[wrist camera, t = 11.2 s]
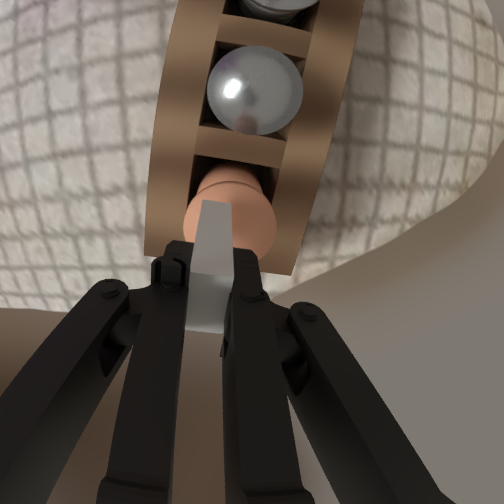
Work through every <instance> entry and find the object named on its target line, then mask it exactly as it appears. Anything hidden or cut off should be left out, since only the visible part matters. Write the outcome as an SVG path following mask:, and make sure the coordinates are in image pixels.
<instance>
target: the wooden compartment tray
mask: <svg viewBox="0 0 504 504" xmlns="http://www.w3.org/2000/svg"><path fill="white" fill-rule="evenodd" d="M363 3H364V0H318V1H317V2H316V3H315V4H313V5H312V6H310V7H308V8H306V9H305V12H304V16H303V20H302V24H301V29H296V28H292V27H288V26H284V25H280V24H276V23H271V22H266V21H262V20H256V19H251V18H245V17H239V16H233V15H227V11H228V8H229V4H230V0H179V1H178V5H177V9H176V13H175V17H174V21H173V25H172V29H171V34H170V38H169V43H168V47H167V52H166V57H165V62H164V67H163V72H162V78H161V84H160V89H159V96H158V102H157V108H156V115H155V122H154V130H153V138H152V146H151V155H150V165H149V176H148V188H147V201H146V218H145V240H144V255H145V256H152V257H160V256H163V255H164V252H165V248H166V245H167V244H169V243H170V242H171V241H172V240H178V241H185V242H186V240H185V237H184V231H183V223H184V218H185V214H186V211H187V209H188V206H189V204H190V202H191V201H192V196H193V188H194V181H195V174H196V168H197V161H198V155H203V156H209V157H216V158H222V159H229V160H235V161H241V162H246V163H252V164H258V165H263V166H268V171H267V175H266V180H265V184H264V188H263V194H264V195H265V197H266V198H267V199H268V201H269V202H270V204H271V206H272V209H273V211H274V214H275V218H276V225H277V229H276V236H275V239H274V242H273V244H272V246H271V248H270V249H269V251H268V252H267V253H266V254H265V255H264V256H263V257H262V258H261V259H260V260H258V263H259V264H258V265H259V271H260V272H266V273H274V274H281V275H289V276H291V274H292V271H293V268H294V265H295V262H296V258H297V255H298V252H299V249H300V246H301V242H302V239H303V236H304V233H305V229H306V226H307V223H308V219H309V216H310V213H311V209H312V206H313V203H314V199H315V196H316V192H317V189H318V185H319V182H320V178H321V175H322V171H323V168H324V164H325V161H326V157H327V153H328V150H329V146H330V142H331V139H332V135H333V131H334V127H335V123H336V120H337V116H338V112H339V108H340V104H341V100H342V96H343V92H344V88H345V84H346V80H347V75H348V71H349V67H350V63H351V58H352V54H353V50H354V45H355V41H356V36H357V32H358V27H359V22H360V18H361V13H362V8H363ZM245 46H265V47H269V48H272V49H275V50H277V51H279V52H281V53H282V54H284V55H285V56H286V57H288V58H289V59H290V60H291V61H292V62H293V64H294V65H295V66H296V68H297V69H298V71H299V73H300V76H301V79H302V83H303V98H302V102H301V106H300V108H299V110H298V112H297V113H296V115H295V116H294V118H293V119H292V120H291V121H290V122H289V123H288V124H287V125H285V126H284V127H282V128H281V129H279V130H277V131H275V132H272V133H269V134H265V135H246V134H242V133H238V132H236V131H233V130H232V129H230V128H228V127H227V126H225V125H224V124H223V123H222V122H221V121H217V120H210V119H205V114H206V108H207V103H208V96H207V85H208V80H209V76H210V74H211V72H212V70H213V68H214V67H215V63H216V59H217V54H218V50H223V51H230V52H231V51H233V50H235V49H238V48H241V47H245Z"/></svg>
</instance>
